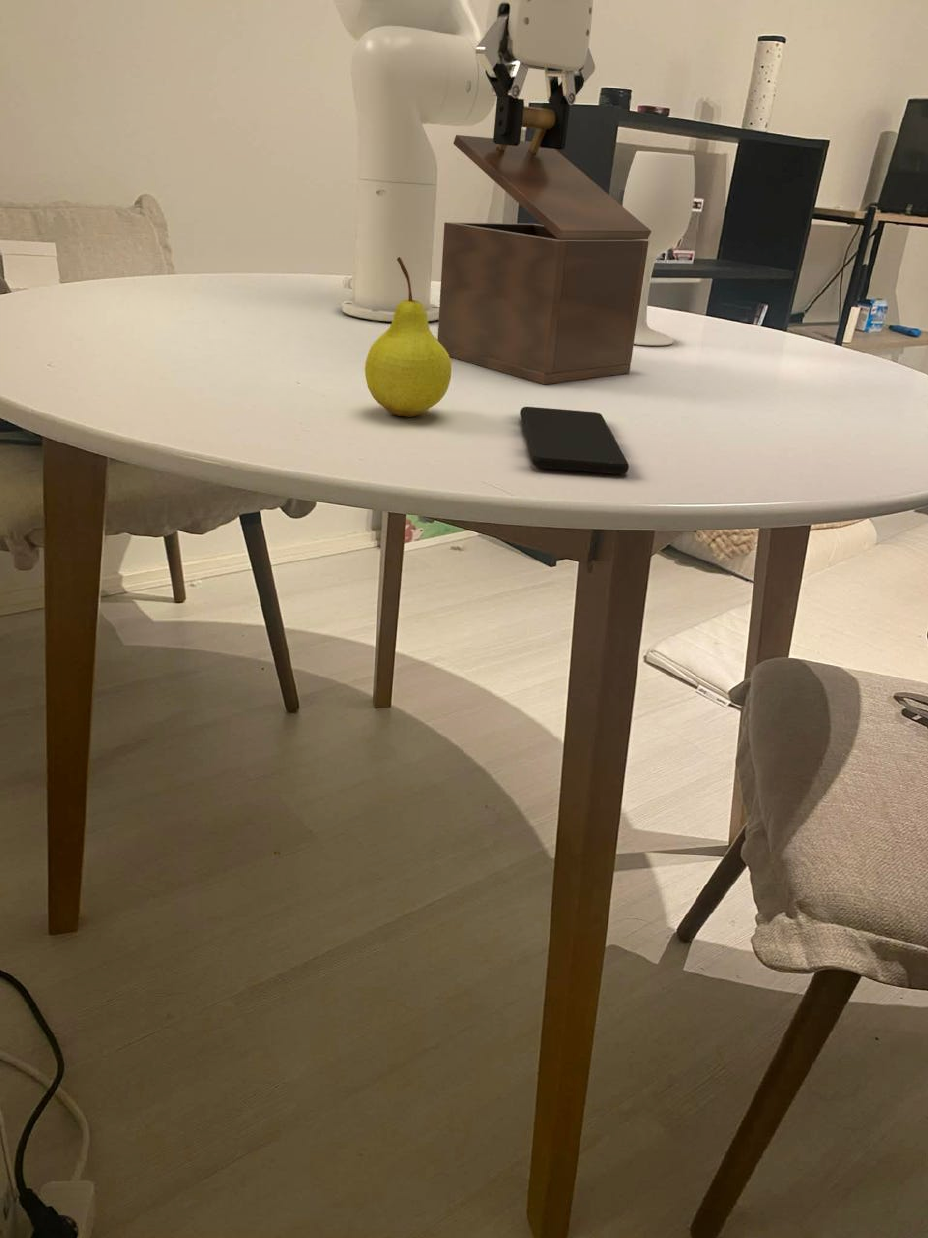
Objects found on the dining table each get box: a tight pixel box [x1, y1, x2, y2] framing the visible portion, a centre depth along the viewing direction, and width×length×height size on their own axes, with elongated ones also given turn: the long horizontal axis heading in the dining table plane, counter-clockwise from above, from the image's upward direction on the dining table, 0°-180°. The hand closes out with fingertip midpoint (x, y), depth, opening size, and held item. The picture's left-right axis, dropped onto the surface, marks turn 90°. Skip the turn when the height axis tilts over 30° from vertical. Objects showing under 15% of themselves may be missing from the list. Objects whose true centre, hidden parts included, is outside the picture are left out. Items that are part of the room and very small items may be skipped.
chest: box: [436, 221, 649, 385], centre depth 101 cm, size 16×13×13 cm
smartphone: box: [519, 406, 630, 475], centre depth 75 cm, size 7×1×15 cm
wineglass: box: [622, 150, 696, 347], centre depth 117 cm, size 9×9×21 cm
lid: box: [453, 105, 651, 239], centre depth 94 cm, size 17×13×5 cm
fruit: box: [364, 257, 452, 418], centre depth 78 cm, size 7×7×12 cm
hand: (529, 144), depth 97 cm, fingers closed on lid, 5 cm apart
